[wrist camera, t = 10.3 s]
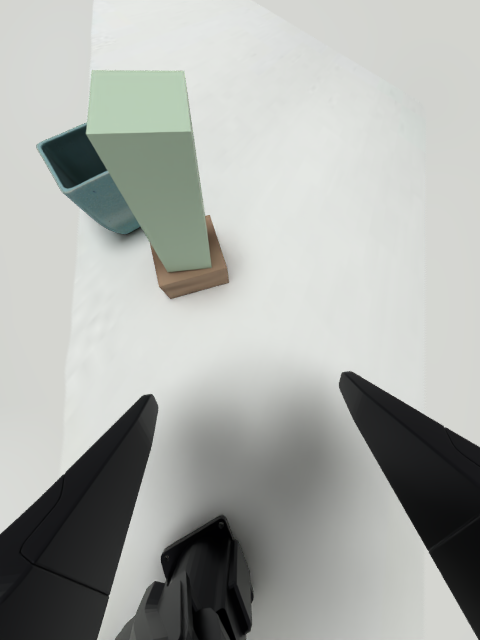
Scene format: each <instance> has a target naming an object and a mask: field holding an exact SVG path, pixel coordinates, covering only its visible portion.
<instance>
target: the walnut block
mask: <svg viewBox="0 0 480 640" xmlns="http://www.w3.org/2000/svg"><path fill="white" fill-rule="evenodd" d="M205 219H206V226H207V233H208V242H209V250H210V258H211V266H212V268H206V269H196V270H185V271H175V272H167V270H166V269H165V267H164V265H163V264H162V262H161V260H160V258H159V257H158V255H157V253H156V252H155V250H154V248H153V247H152V245H151V243H150V246H151V250H152V255H153V260H154V264H155V269H156V274H157V279H158V283H159V287H160V288H161V289H162V290H163V291H164V292H165V293H166V295H167V296H168V297H169V298H170V299H173V298H176V297H180V296H183V295H187V294H190V293H194V292H197V291H201V290H204V289H208V288H211V287H215V286H219V285H222V284H226V283H229V279H228V271H227V266H226V263H225V260H224V257H223V254H222V251H221V248H220V245H219V242H218V239H217V236H216V233H215V230H214V227H213V224H212V221H211V218H210V215H208V216H205Z"/></svg>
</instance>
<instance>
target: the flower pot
mask: <svg viewBox="0 0 480 640" xmlns="http://www.w3.org/2000/svg"><path fill="white" fill-rule="evenodd" d="M86 129H87V123H84V124H82V125H79V126H77V127H75V128H73V129H71V130H68V131H66V132H64V133H61V134H59V135H57V136H54V137H52V138H49V139H46V140H44V141H42V142H40V143H39V144H37V145H36V148H37V150H38V152H39V153H40V155H41V157H42V158H43V160H44V161H45V163H46V165H47V167H48V169H49V171H50V172H51V174H52V176H53V178H54V179H55V181H56V183H57V185H58V187H59V188H60V190H61V191H62V192H63V193H64V194H65V195H66V196H67V197H68V198H69V199H71V200H72V201H73V202H74V203H75V204H76V205H77V206H79V207H80V208H81V209H82V210H83V211H84V212H86V213H87V214H88V215H89V216H90V217H91V218H93V219H94V220H95V221H96V222H98V223H99V224H100V225H102V226H103V227H105V228H107V229H109V230H111V231H113V232H116V233H120V234H128V233H130V232H132V231H133V230H135V229H137V228H139V227H141V226H140V225H139V223H138V221H137V220H136V218H135V216H134V214H133V213H132V211H131V209H130V208H129V206H128V204H127V203H126V201H125V199H124V198H123V196H122V194H121V192H120V191H119V189H118V187H117V186H116V184H115V182H114V181H113V179H112V177H111V176H110V174H109V172H108V170H107V169H106V167H105V165H104V164H103V162H102V160H101V159H100V157H99V155H98V154H97V152H96V150H95V148H94V147H93V145H92V143H91V142H90V140H89V138H88V137H87V135H86Z"/></svg>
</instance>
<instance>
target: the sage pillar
mask: <svg viewBox="0 0 480 640" xmlns="http://www.w3.org/2000/svg"><path fill="white" fill-rule="evenodd" d="M86 135H87V137H88V138H89V140H90V142H91V143H92V145H93V147H94V148H95V150H96V152H97V154H98V155H99V157H100V159H101V160H102V162H103V164H104V165H105V167H106V169H107V170H108V172H109V174H110V176H111V177H112V179H113V181H114V182H115V184H116V186H117V187H118V189H119V191H120V192H121V194H122V196H123V198H124V199H125V201H126V203H127V204H128V206H129V208H130V209H131V211H132V213H133V214H134V216H135V218H136V220H137V221H138V223H139V225H140V226H141V228H142V230H143V231H144V233H145V235H146V236H147V238H148V240H149V242H150V243H151V245H152V247H153V248H154V250H155V252H156V253H157V255H158V257H159V258H160V260H161V262H162V264H163V265H164V267H165V269H166V270H167V272H175V271H185V270H196V269H206V268H212V266H211V258H210V250H209V242H208V233H207V226H206V219H205V212H204V205H203V198H202V191H201V184H200V178H199V171H198V164H197V157H196V150H195V143H194V136H193V129H192V122H191V115H190V108H189V101H188V94H187V87H186V80H185V73H184V71H106V70H92V74H91V85H90V96H89V107H88V118H87V129H86Z"/></svg>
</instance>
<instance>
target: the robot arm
mask: <svg viewBox="0 0 480 640" xmlns="http://www.w3.org/2000/svg"><path fill="white" fill-rule="evenodd" d="M339 388H340V391H341V393H342V395H343V398H344V400H345V402H346V404H347V407H348V409H349V411H350V413H351V415H352V418H353V420H354V422H355V423H356V425H357V427H358V429H359V431H360V432H361V434H362V436H363V438H364V439H365V441H366V443H367V445H368V446H369V448H370V450H371V452H372V453H373V455H374V457H375V459H376V460H377V462H378V464H379V466H380V467H381V469H382V471H383V473H384V474H385V476H386V478H387V480H388V481H389V483H390V485H391V487H392V488H393V490H394V492H395V494H396V495H397V497H398V499H399V501H400V502H401V504H402V506H403V508H404V509H405V511H406V513H407V515H408V516H409V518H410V520H411V522H412V523H413V525H414V527H415V529H416V530H417V532H418V534H419V536H420V537H421V539H422V541H423V543H424V545H425V546H426V548H427V550H428V551H429V554H430V555H431V557H432V559H433V561H434V562H435V564H436V566H437V568H438V569H439V571H440V572H441V574H442V576H443V578H444V580H445V582H446V583H447V585H448V587H449V588H450V590H451V592H452V594H453V596H454V597H455V599H456V601H457V603H458V604H459V606H460V608H461V610H462V611H463V613H464V615H465V617H466V618H467V620H468V622H469V624H470V625H471V627H472V629H473V631H474V632H475V634H476V636H477V638H478V640H480V447H478V446H477V445H475V444H473V443H472V442H470V441H468V440H467V439H465V438H463V437H461V436H459V435H458V434H456V433H454V432H453V431H451V430H449V429H448V428H444V426H442V425H441V424H439V423H438V422H436V421H434V420H432V419H431V418H429V417H427V416H426V415H424V414H422V413H421V412H419V411H417V410H416V409H414V408H412V407H411V406H409V405H407V404H406V403H404V402H402V401H401V400H399V399H397V398H396V397H394V396H392V395H390V394H389V393H387V392H385V391H384V390H382V389H380V388H379V387H377V386H375V385H374V384H372V383H370V382H369V381H367V380H365V379H364V378H362V377H360V376H359V375H357V374H355V373H353V372H351V371H348V372H342V374H341V377H340V382H339ZM157 414H158V404H157V402H156V400H155V398H154V396H153V395H152V394H147V395H143V396H142V397H141V398H140V399H139V400H138V401H137V402H136V403H135V404H134V405H133V406H132V407H131V408H130V409H129V410H128V411H127V412H126V413H125V414H124V415H123V416H122V417H121V418H120V419H119V420H118V421H117V422H116V423H115V424H114V425H113V426H112V427H111V428H110V429H109V430H108V431H107V432H106V433H105V434H104V435H103V436H102V437H101V438H100V439H99V440H98V441H97V442H95V443H94V444H93V445H92V446H91V447H90V448H89V449H88V450H87V451H86V452H85V453H84V454H83V455H82V456H81V457H80V458H79V459H78V460H77V461H76V462H75V463H74V464H73V465H72V466H71V467H70V468H69V469H68V470H67V471H66V473H65V474H64V475H62V476H61V477H60V478H59V479H58V480H57V481H56V482H55V483H54V484H53V485H52V486H51V487H50V488H49V489H48V490H47V491H46V492H45V493H44V494H43V495H42V496H41V497H40V498H39V499H38V500H37V501H36V502H35V503H34V504H33V505H32V506H30V507H29V508H28V509H27V510H26V511H25V512H24V513H23V514H22V515H21V516H20V517H19V518H18V519H16V520H15V521H14V522H13V523H12V524H11V525H10V526H9V527H8V528H7V529H6V530H4V531H3V532H2V533H1V534H0V640H97V638H98V634H99V631H100V627H101V624H102V620H103V617H104V613H105V610H106V606H107V602H108V599H109V594H110V591H111V588H112V584H113V581H114V577H115V574H116V570H117V567H118V563H119V560H120V556H121V553H122V549H123V545H124V542H125V538H126V535H127V531H128V528H129V524H130V521H131V517H132V514H133V510H134V507H135V503H136V500H137V496H138V493H139V489H140V485H141V482H142V478H143V475H144V471H145V468H146V464H147V461H148V457H149V454H150V450H151V446H152V442H153V436H154V431H155V425H156V420H157ZM220 522H223V523H224V524H223V525H220V524H219V523H220ZM165 555H168V556H169V558H166V557H165ZM161 564H162V567H163V571H164V574H165V578H166V582H165V583H161V582H157V581H155V582H153V583H152V584H151V585H150V586H149V587H148V588H147V589H146V592H145V594H144V596H143V598H142V601H141V603H140V605H139V608H138V610H137V613H136V615H135V616H134V617H133V618H132V619H131V620H130V621H129V622H128V623H127V624H126V625H125V626H124V627H123V629H122V631H121V632H120V633H119V634H118V636H117V637H116V638H115V640H246V634H247V633H249V632H250V631H251V626H252V613H251V603H252V601H253V588H252V586H251V583H250V571H249V568H248V566H247V563H246V560H245V558H244V555H243V552H242V550H241V547H240V545H239V542H238V540H236V539H234V538H233V535H232V533H231V530H230V527H229V525H228V522H227V519H226V518H225V517H224V516H219V517H217V518H216V519H214V520H212V521H211V522H209V523H207V524H206V525H204V526H202V527H201V528H199V529H197V530H196V531H194V532H192V533H191V534H189V535H188V536H186V537H184V538H183V539H181V540H179V541H178V542H176V543H174V544H173V545H171V546H169V547H168V548H166V549H165V550H164V551H163V554H162V556H161Z"/></svg>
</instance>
